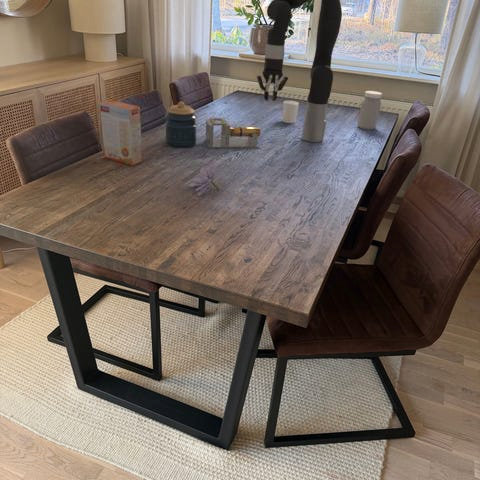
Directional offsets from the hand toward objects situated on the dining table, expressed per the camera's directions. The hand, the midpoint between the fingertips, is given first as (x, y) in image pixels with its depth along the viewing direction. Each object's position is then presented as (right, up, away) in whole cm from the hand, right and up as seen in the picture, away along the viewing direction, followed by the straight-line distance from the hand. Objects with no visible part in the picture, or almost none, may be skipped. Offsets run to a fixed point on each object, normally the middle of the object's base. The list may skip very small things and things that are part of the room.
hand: (269, 100), depth 187 cm
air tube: (-11, -14, +6) cm, 19 cm away
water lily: (-25, -43, -38) cm, 62 cm away
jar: (+54, 0, +46) cm, 71 cm away
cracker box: (-57, -29, -20) cm, 67 cm away
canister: (-38, -18, +2) cm, 42 cm away
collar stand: (-16, -17, +6) cm, 25 cm away
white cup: (+13, +3, +45) cm, 47 cm away
